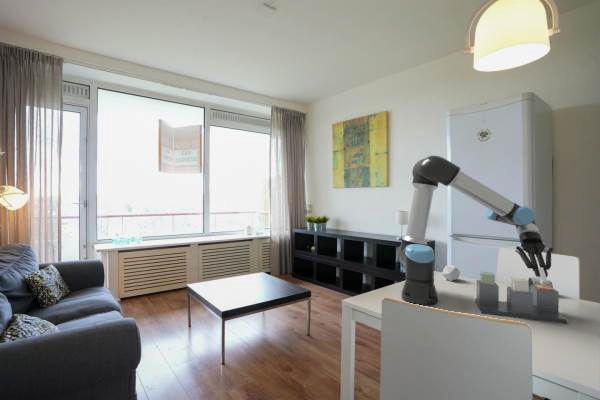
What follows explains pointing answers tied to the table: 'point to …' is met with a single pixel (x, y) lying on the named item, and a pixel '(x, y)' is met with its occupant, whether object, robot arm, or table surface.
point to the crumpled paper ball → (451, 273)
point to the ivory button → (519, 284)
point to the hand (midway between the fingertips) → (544, 283)
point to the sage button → (487, 278)
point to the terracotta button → (544, 287)
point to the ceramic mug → (537, 282)
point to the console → (520, 303)
